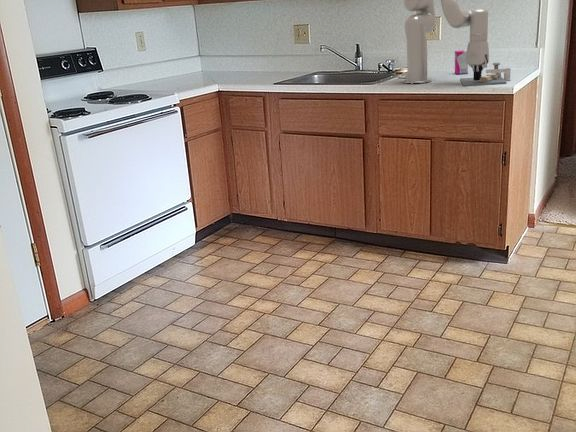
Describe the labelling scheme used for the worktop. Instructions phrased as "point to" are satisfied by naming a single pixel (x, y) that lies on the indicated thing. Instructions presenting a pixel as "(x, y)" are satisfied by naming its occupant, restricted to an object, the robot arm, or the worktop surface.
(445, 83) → the worktop surface
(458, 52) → the supplement box
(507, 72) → the keeper
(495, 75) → the link
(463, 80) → the base plate
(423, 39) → the robot arm
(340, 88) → the worktop surface
